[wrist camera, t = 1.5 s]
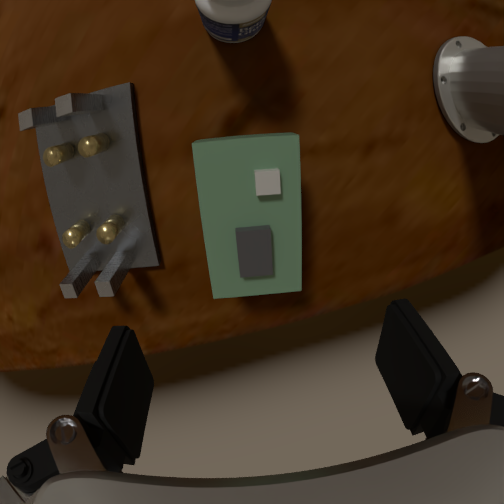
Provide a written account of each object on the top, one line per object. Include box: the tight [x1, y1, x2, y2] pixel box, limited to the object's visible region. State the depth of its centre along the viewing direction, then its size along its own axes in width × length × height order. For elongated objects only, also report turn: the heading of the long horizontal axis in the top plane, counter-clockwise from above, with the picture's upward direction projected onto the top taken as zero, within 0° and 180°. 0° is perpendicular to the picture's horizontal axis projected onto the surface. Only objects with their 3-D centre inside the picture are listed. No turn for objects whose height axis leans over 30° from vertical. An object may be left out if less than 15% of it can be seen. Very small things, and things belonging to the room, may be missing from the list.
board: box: [192, 133, 302, 299], centre depth 22 cm, size 7×12×3 cm, turn 4°
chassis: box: [18, 82, 161, 298], centre depth 24 cm, size 11×18×7 cm, turn 4°
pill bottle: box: [195, 0, 272, 43], centre depth 16 cm, size 5×5×10 cm
